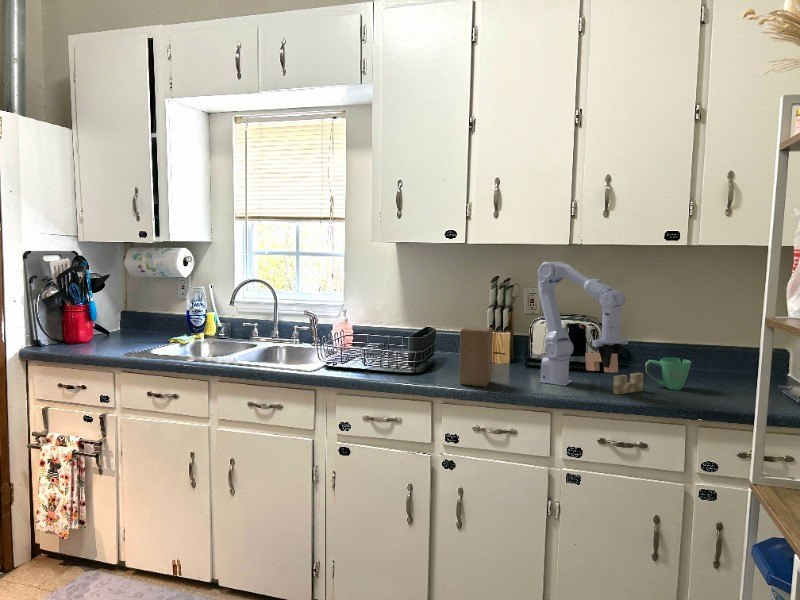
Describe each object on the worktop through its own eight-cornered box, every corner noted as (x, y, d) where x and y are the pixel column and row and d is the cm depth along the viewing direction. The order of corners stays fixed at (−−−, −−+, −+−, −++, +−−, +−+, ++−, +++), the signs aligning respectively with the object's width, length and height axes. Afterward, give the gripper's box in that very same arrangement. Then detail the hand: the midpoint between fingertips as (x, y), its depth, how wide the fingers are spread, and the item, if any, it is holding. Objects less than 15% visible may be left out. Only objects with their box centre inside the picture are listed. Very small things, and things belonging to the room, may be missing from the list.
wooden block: (458, 384, 200) (459, 329, 198) (465, 378, 210) (466, 325, 208) (486, 387, 197) (487, 330, 195) (491, 381, 206) (493, 327, 204)
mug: (686, 386, 203) (688, 358, 202) (691, 392, 194) (693, 364, 193) (642, 382, 208) (644, 355, 207) (645, 389, 198) (647, 360, 197)
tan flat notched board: (618, 371, 188) (617, 353, 188) (613, 372, 187) (611, 354, 187) (591, 369, 198) (590, 352, 199) (586, 370, 197) (585, 353, 198)
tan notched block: (617, 394, 190) (618, 376, 190) (613, 393, 192) (613, 375, 191) (642, 390, 196) (643, 373, 195) (637, 389, 197) (638, 372, 197)
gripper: (604, 329, 182) (602, 370, 183) (636, 326, 188) (634, 367, 189) (587, 326, 188) (586, 366, 189) (619, 324, 194) (617, 363, 196)
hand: (609, 366), depth 190 cm, fingers closed on tan flat notched board, 2 cm apart
